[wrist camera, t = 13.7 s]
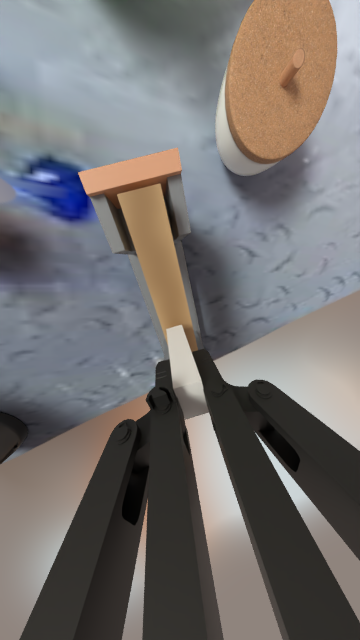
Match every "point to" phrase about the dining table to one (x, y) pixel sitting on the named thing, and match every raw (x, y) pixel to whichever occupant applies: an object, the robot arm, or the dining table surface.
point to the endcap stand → (103, 195)
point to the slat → (158, 257)
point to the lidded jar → (275, 82)
